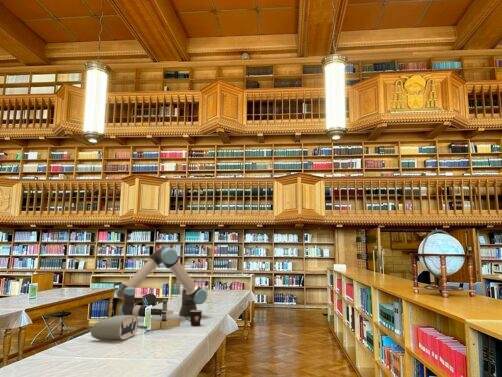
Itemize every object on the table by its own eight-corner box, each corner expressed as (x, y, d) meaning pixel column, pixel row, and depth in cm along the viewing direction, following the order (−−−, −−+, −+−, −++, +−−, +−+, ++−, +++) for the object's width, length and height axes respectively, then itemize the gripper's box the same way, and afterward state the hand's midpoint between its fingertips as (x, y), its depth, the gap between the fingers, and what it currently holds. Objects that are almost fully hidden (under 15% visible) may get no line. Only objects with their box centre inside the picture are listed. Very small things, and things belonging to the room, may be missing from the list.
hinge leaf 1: (165, 326, 262) (165, 319, 263) (170, 327, 258) (170, 320, 259) (144, 330, 250) (144, 322, 251) (149, 331, 246) (149, 324, 247)
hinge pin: (164, 324, 261) (165, 299, 263) (167, 325, 258) (169, 300, 261) (159, 325, 258) (161, 299, 260) (163, 326, 255) (164, 300, 258)
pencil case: (119, 343, 217) (119, 319, 219) (89, 342, 221) (90, 319, 223) (137, 334, 238) (138, 313, 240) (110, 334, 242) (111, 313, 244)
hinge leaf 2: (177, 324, 269) (177, 317, 270) (182, 326, 265) (182, 318, 266) (157, 328, 258) (157, 320, 258) (162, 329, 253) (162, 321, 254)
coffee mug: (202, 324, 272) (203, 309, 274) (200, 326, 264) (200, 311, 266) (187, 323, 274) (187, 309, 275) (183, 326, 265) (184, 311, 267)
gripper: (146, 314, 270) (176, 316, 265) (134, 318, 255) (166, 320, 250) (146, 303, 272) (176, 305, 266) (135, 307, 256) (167, 309, 251)
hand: (171, 312), depth 258 cm, fingers closed on hinge pin, 3 cm apart
